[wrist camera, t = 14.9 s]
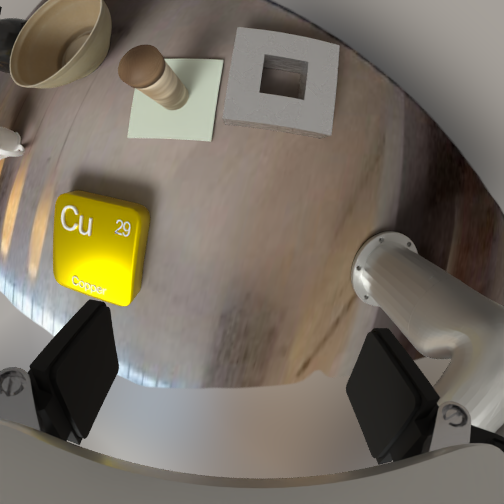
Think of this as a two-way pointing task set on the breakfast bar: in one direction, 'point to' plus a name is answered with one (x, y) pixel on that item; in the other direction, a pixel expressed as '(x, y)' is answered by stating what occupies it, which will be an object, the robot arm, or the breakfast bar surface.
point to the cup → (10, 143)
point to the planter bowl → (61, 43)
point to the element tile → (100, 245)
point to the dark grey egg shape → (8, 39)
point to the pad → (191, 114)
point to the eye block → (274, 106)
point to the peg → (153, 77)
